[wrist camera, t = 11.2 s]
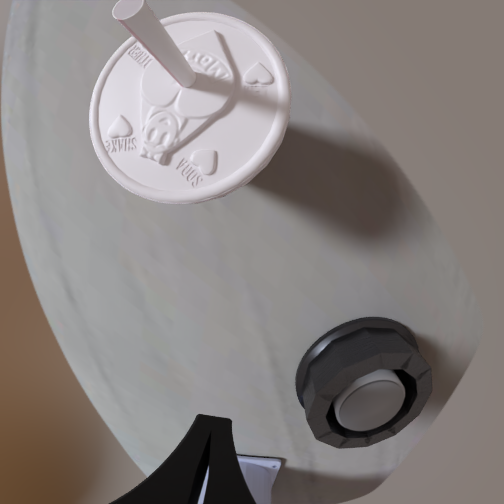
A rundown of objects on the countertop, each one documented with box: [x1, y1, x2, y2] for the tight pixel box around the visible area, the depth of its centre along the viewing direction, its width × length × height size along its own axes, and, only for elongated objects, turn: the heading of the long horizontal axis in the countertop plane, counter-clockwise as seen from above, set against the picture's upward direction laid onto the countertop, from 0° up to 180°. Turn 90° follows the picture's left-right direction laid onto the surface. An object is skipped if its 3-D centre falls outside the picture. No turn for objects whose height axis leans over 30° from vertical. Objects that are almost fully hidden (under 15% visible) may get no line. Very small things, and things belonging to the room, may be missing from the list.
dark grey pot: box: [295, 317, 432, 448], centre depth 18 cm, size 10×10×4 cm
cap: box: [332, 369, 405, 431], centre depth 18 cm, size 5×5×4 cm
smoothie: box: [89, 0, 291, 204], centre depth 10 cm, size 6×6×14 cm
